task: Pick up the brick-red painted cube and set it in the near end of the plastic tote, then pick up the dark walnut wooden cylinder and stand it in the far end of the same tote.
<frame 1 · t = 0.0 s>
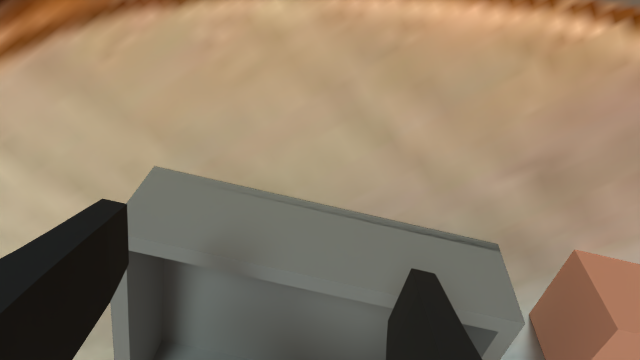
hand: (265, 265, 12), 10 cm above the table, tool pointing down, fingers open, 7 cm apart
cube: (594, 292, 25), on the table
tote: (303, 296, 27), on the table
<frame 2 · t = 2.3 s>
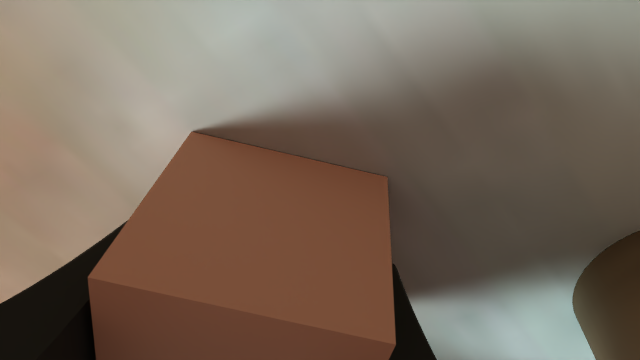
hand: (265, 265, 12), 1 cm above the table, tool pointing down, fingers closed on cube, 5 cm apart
cube: (274, 229, 13), on the table, touching gripper
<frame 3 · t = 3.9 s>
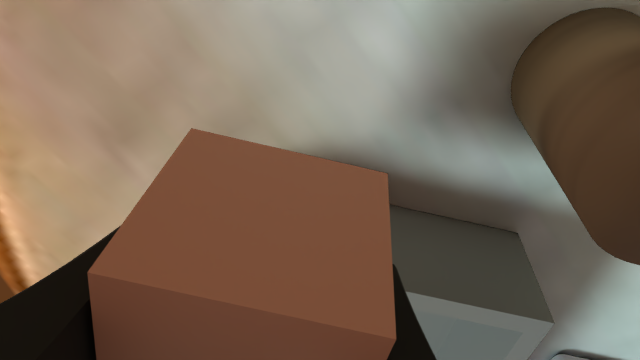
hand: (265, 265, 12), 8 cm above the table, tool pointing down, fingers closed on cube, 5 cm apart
cylinder: (583, 79, 17), on the table
cube: (275, 226, 13), point 7 cm above the table, touching gripper
tote: (328, 326, 25), on the table
when the fingers open (4 cm above the table, at t = 5.7 s): cube drops 2 cm, resting on tote.
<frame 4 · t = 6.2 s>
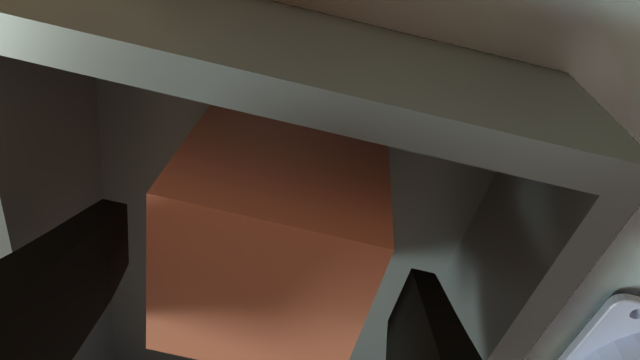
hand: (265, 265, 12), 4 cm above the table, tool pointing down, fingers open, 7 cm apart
cube: (288, 183, 15), point 1 cm above the table, touching tote
tote: (273, 252, 17), on the table
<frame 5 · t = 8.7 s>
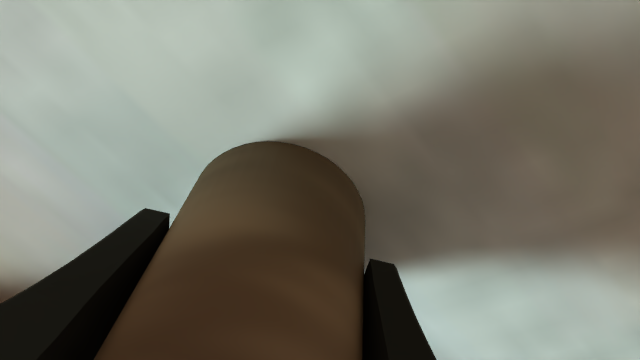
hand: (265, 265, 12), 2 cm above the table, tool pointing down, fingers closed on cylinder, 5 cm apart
cylinder: (278, 218, 13), on the table, touching gripper
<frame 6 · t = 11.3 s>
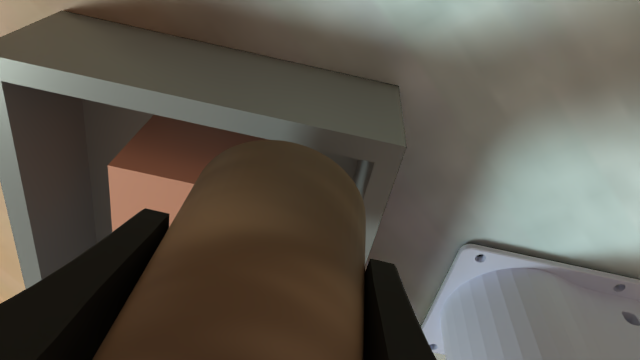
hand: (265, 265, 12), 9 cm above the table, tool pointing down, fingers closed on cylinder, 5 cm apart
cylinder: (278, 216, 13), point 7 cm above the table, touching gripper
cube: (219, 165, 21), point 1 cm above the table, touching tote
tote: (216, 218, 23), on the table
when the fingers open (4 cm above the table, at t = 13.8 s): cylinder drops 1 cm, resting on tote.
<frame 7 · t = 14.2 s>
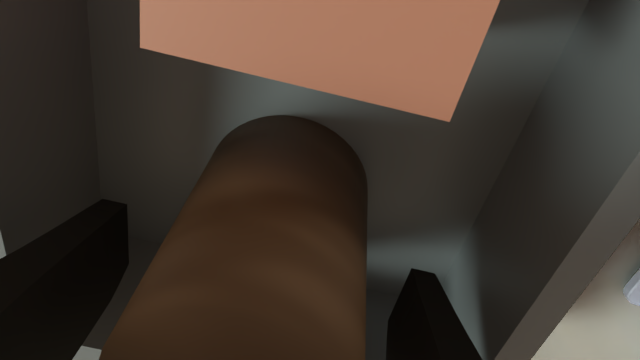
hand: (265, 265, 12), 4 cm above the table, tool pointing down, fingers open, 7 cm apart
cylinder: (287, 187, 14), point 1 cm above the table, touching tote
tote: (317, 45, 13), on the table
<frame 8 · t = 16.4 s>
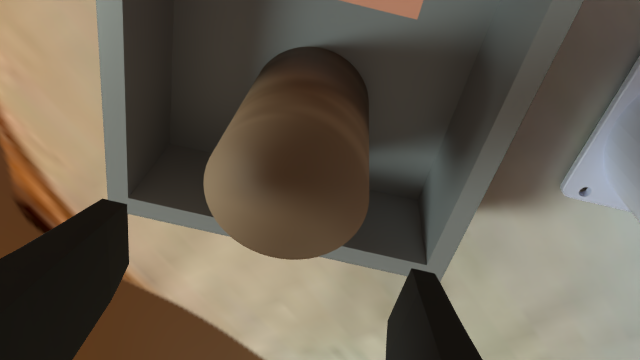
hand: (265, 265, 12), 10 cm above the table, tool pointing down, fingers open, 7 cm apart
cylinder: (310, 104, 20), point 1 cm above the table, touching tote
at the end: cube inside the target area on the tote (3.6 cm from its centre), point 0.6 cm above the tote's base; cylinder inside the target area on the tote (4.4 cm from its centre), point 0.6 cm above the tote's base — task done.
